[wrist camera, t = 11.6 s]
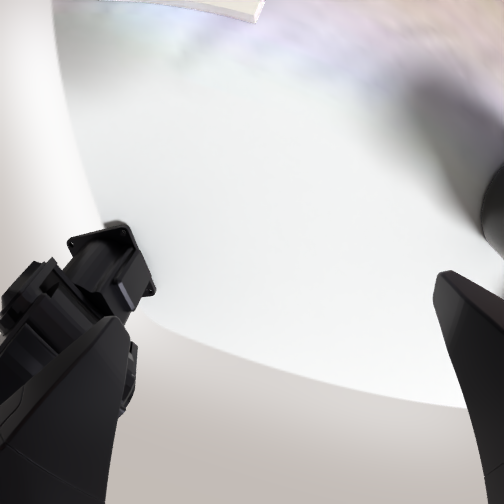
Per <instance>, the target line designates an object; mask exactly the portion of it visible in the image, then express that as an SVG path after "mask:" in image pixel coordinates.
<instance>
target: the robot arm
mask: <svg viewBox="0 0 504 504" xmlns="http://www.w3.org/2000/svg"><path fill="white" fill-rule="evenodd" d="M122 230H124V231H125V232H126V233H123V231H122ZM71 242H72V243H73V244H72V243H71ZM67 246H68V248H69V250H70V252H71V254H72V256H73V258H72V259H71V261H70V262H69V263H68V264H67V265H66V267H65V268H64V269H63V270H61V269H60V268H59V266H58V265H57V262H56V261H55V259H54V258H53V257H52V258H51V259H50V260H49V261H48V262H47V263H45V262H43V263H39V262H36V261H33V262H32V263H31V264H30V266H28V268H27V269H26V270H25V271H24V272H23V273H22V274H21V275H20V277H18V278H17V279H16V281H15V282H14V283H13V284H12V285H11V286H10V287H9V288H8V290H7V291H6V292H5V293H4V294H3V295H2V311H1V312H0V332H1V335H0V504H105V498H106V490H107V482H108V475H109V467H110V461H111V454H112V448H113V442H114V437H115V431H116V426H117V421H118V418H119V417H120V416H121V415H122V414H123V413H124V412H125V411H126V407H127V405H128V404H129V402H130V400H131V398H132V396H133V393H134V390H135V380H136V364H137V350H138V346H137V345H136V344H135V343H134V342H132V341H130V336H129V334H128V332H127V331H126V330H125V327H124V325H125V323H126V321H127V319H128V317H129V315H130V313H131V312H132V311H135V309H136V307H137V305H138V303H139V301H140V299H141V297H148V296H153V295H154V294H155V292H156V287H155V285H154V283H153V280H152V278H151V277H152V276H151V273H150V271H149V269H148V267H147V264H146V262H145V260H144V257H143V255H142V253H141V251H140V250H139V248H138V246H137V244H136V241H135V239H134V236H133V234H132V231H131V229H130V227H129V226H127V225H120V226H115V227H111V228H107V229H103V230H99V231H95V232H90V233H87V234H83V235H79V236H75V237H71V238H70V239H69V240H68V241H67ZM149 289H150V290H152V291H150V290H149ZM433 304H434V308H435V311H436V314H437V317H438V320H439V324H440V327H441V330H442V334H443V337H444V341H445V344H446V347H447V351H448V353H449V356H450V359H451V362H452V364H453V367H454V370H455V373H456V375H457V378H458V381H459V384H460V387H461V390H462V393H463V396H464V399H465V402H466V405H467V409H468V412H469V415H470V419H471V422H472V426H473V429H474V433H475V437H476V441H477V445H478V450H479V454H480V459H481V463H482V467H483V473H484V476H485V477H484V479H485V485H486V491H487V498H488V504H504V300H503V299H501V298H500V297H498V296H496V295H495V294H493V293H491V292H490V291H488V290H486V289H484V288H483V287H481V286H479V285H477V284H476V283H474V282H472V281H470V280H469V279H467V278H465V277H463V276H461V275H460V274H458V273H456V272H454V271H452V270H449V271H444V272H440V273H439V274H438V275H437V278H436V283H435V288H434V293H433Z"/></svg>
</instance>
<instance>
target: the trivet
mask: <svg viewBox="0 0 504 504" xmlns="http://www.w3.org/2000/svg"><path fill="white" fill-rule="evenodd" d="M101 1H129V2H142V3H152V4H161V5H169V6H176V7H182V8H188V9H194V10H199V11H204V12H209V13H214V14H218V15H222V16H227V17H231V18H235V19H238V20H242V21H246V22H249V23H253V24H256V22H257V20H258V17H259V15H260V13H261V10H262V8H263V6H264V3H265V1H266V0H101Z"/></svg>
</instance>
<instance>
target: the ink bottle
mask: <svg viewBox="0 0 504 504" xmlns="http://www.w3.org/2000/svg"><path fill="white" fill-rule="evenodd" d="M482 228H483V232H484V235H485V238H486V240H487V241H488V243H489V244H490V246H491V247H492V248H493V249H494V250H495V251H496V252H497V253H498V254H499V255H500V256H501V257H502V258H503V259H504V166H503V167H502V168H501V169H500V171H499V172H498V173H497V174H496V176H495V177H494V179H493V181H492V182H491V184H490V186H489V188H488V190H487V193H486V195H485V198H484V202H483V207H482Z"/></svg>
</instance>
